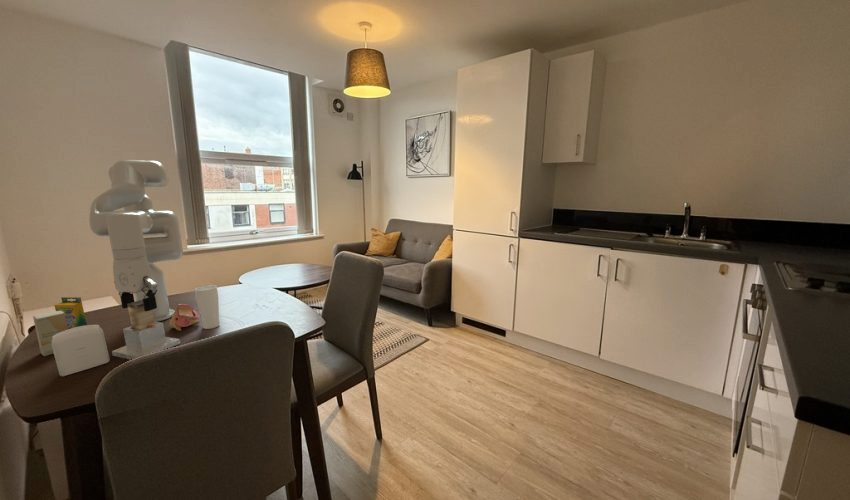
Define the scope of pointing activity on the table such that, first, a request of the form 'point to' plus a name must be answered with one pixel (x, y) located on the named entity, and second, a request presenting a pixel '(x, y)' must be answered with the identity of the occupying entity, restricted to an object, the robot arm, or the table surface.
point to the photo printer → (79, 349)
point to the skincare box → (49, 329)
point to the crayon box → (72, 311)
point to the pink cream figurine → (184, 316)
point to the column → (140, 315)
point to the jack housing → (144, 341)
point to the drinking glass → (208, 305)
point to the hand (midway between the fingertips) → (139, 308)
